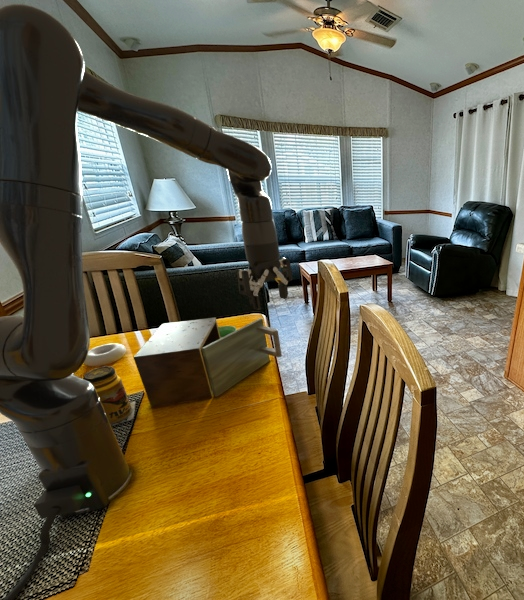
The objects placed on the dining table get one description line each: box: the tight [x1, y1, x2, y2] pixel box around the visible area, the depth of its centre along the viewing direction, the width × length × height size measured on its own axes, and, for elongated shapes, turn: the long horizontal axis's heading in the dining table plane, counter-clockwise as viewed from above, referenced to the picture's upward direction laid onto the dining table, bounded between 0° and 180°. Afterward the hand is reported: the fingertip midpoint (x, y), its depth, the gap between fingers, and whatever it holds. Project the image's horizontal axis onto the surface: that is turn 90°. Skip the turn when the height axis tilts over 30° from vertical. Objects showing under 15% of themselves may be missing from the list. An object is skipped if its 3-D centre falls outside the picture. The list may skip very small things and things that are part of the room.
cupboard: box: [133, 317, 221, 409], centre depth 85 cm, size 13×18×14 cm
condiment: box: [82, 365, 137, 427], centre depth 72 cm, size 7×8×12 cm
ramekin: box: [218, 325, 238, 338], centre depth 105 cm, size 9×9×4 cm
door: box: [201, 317, 283, 398], centre depth 85 cm, size 8×18×14 cm, turn 157°
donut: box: [83, 342, 127, 367], centre depth 97 cm, size 10×4×10 cm
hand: (270, 303), depth 83 cm, fingers open, 8 cm apart
